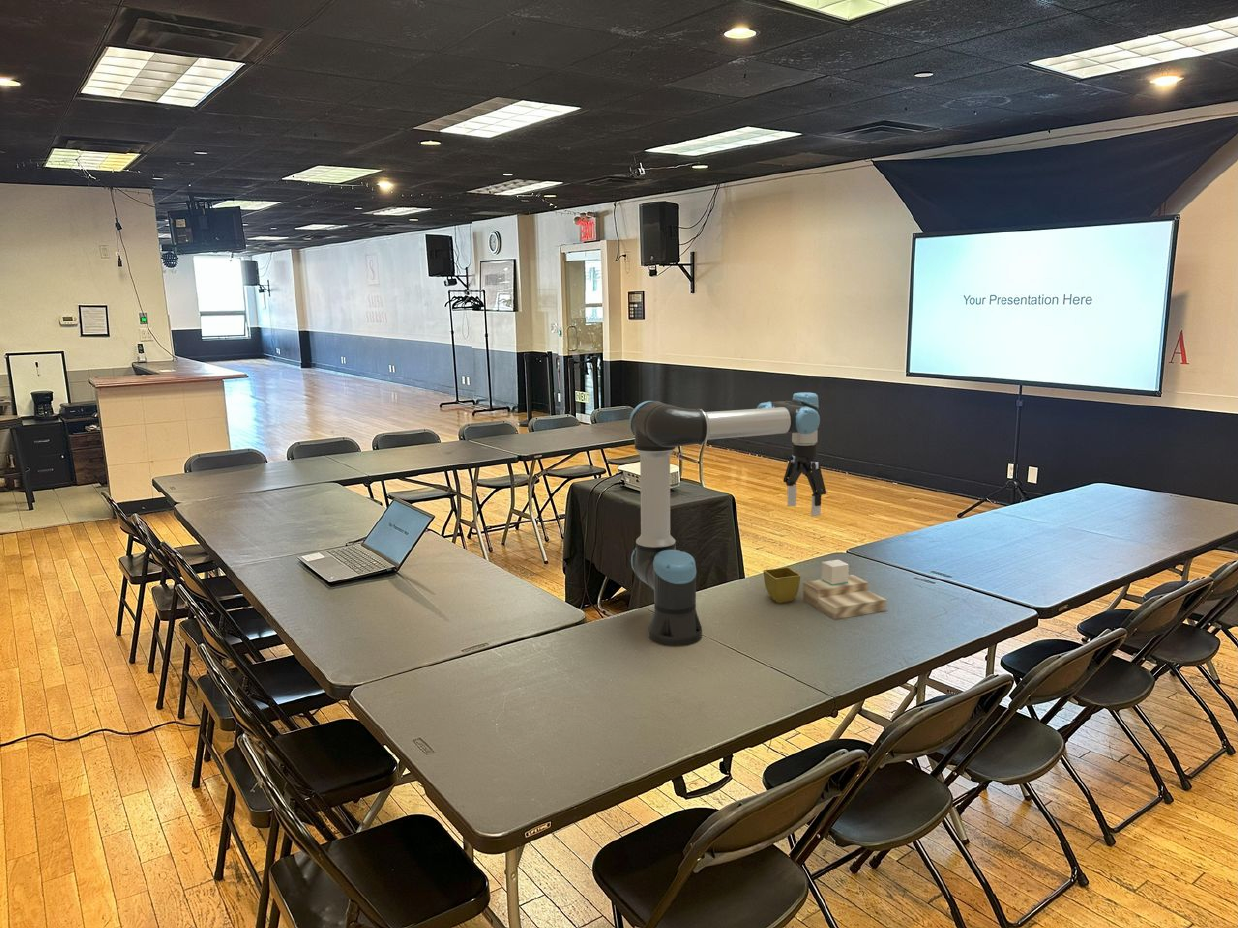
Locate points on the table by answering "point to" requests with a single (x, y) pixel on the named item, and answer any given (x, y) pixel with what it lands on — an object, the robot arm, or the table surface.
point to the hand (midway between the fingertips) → (803, 510)
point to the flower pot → (782, 584)
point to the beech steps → (843, 598)
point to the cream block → (835, 572)
